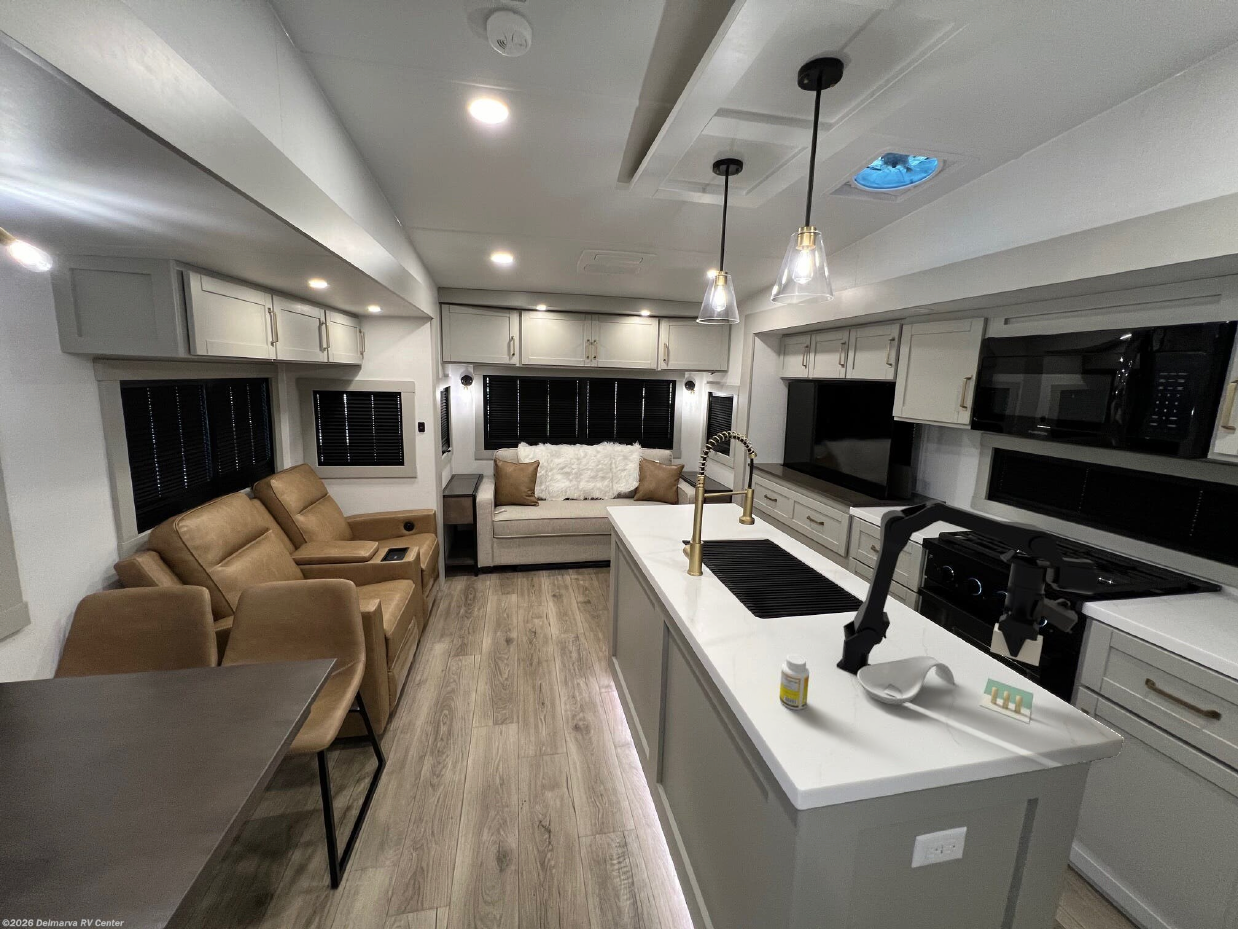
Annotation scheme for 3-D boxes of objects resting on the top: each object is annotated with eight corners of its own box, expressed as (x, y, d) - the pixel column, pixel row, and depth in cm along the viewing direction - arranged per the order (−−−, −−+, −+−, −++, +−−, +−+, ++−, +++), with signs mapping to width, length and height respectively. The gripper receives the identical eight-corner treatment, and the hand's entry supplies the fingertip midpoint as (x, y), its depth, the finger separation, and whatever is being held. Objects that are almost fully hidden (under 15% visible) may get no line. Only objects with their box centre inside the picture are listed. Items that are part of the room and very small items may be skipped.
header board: (1027, 729, 97) (1031, 708, 96) (978, 710, 102) (981, 690, 101) (1032, 698, 107) (1035, 679, 106) (987, 682, 112) (990, 664, 112)
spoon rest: (887, 718, 99) (891, 687, 98) (844, 685, 110) (847, 656, 109) (968, 698, 107) (973, 668, 106) (921, 668, 118) (924, 641, 117)
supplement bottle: (798, 694, 106) (802, 651, 105) (811, 710, 101) (815, 665, 99) (774, 695, 106) (778, 652, 104) (785, 711, 100) (789, 666, 99)
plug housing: (1038, 666, 100) (1042, 644, 99) (990, 651, 105) (993, 630, 105) (1039, 657, 103) (1042, 636, 103) (992, 643, 109) (995, 623, 108)
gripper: (1079, 611, 90) (1064, 687, 92) (1077, 583, 103) (1064, 650, 106) (1003, 592, 97) (991, 663, 100) (1011, 569, 111) (1000, 632, 113)
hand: (1014, 652), depth 104 cm, fingers closed on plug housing, 4 cm apart
